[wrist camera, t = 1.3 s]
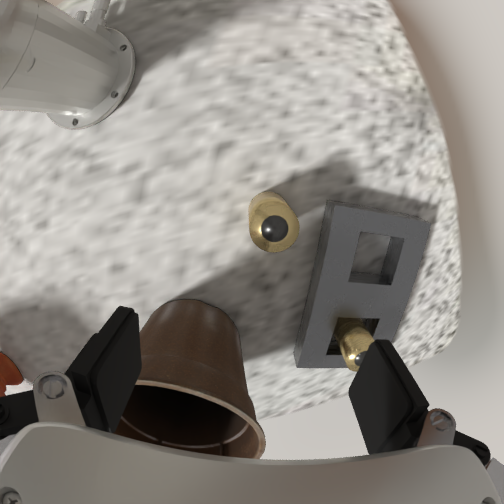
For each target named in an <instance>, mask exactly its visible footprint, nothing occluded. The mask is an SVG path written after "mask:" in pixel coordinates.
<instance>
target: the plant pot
mask: <svg viewBox="0 0 504 504" xmlns="http://www.w3.org/2000/svg"><path fill="white" fill-rule="evenodd" d="M139 335H140V348H141V360H142V369H141V373H140V375H139V377H138V379H137V382H136V384H135V386H134V389H133V391H132V393H131V395H130V398H129V400H128V402H127V405H126V407H125V409H124V412H123V414H122V416H121V419H120V421H119V424H118V426H117V428H116V431H115V432H114V433H112V434H116V435H120V436H123V437H127V438H130V439H134V440H138V441H142V442H146V443H151V444H155V445H160V446H164V447H169V448H174V449H179V450H184V451H190V452H196V453H203V454H210V455H218V456H226V457H237V458H249V459H260V457H261V456H262V454H263V453H264V450H265V445H266V441H265V435H264V432H263V430H262V428H261V426H260V425H259V423H258V422H257V420H256V415H255V410H254V406H253V403H252V400H251V399H250V397H249V395H248V390H247V384H246V379H245V372H244V366H243V359H242V352H241V344H240V337H239V334H238V331H237V328H236V326H235V325H234V323H233V322H232V320H231V319H230V318H229V317H228V316H227V314H226V313H224V312H223V311H221V310H220V309H219V308H217V307H211V306H209V305H207V304H205V303H203V302H201V301H198V300H190V299H184V300H176V301H172V302H169V303H167V304H164V305H162V306H161V307H159V308H158V309H157V310H156V311H155V312H153V314H152V315H151V316H150V318H149V320H148V321H147V322H146V324H145V325H144V327H143V328H142V330H141V331H140V333H139Z"/></svg>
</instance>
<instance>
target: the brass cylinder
mask: <svg viewBox="0 0 504 504" xmlns="http://www.w3.org/2000/svg"><path fill="white" fill-rule="evenodd" d="M249 230H250V236H251V238H252V240H253V242H254V243H255V244H256V245H257V246H258V247H259V248H260V249H262V250H264V251H267V252H280V251H283V250H286V249H287V248H289V247H290V246H291V245H292V244H293V243H294V242H295V241H296V239H297V237H298V234H299V221H298V219H297V216H296V215H295V213H294V212H293V211H292V209H291V208H290V207H289V206H288V204H287V203H286V202H285V200H284V199H283V198H282V197H281V196H280V195H278V194H276V193H274V192H262V193H260V194H258V195H256V196H255V197H254V198H253V199H252V201H251V202H250V205H249Z"/></svg>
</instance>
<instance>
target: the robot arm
mask: <svg viewBox="0 0 504 504" xmlns="http://www.w3.org/2000/svg"><path fill="white" fill-rule="evenodd" d="M110 1H111V0H95V1H94V4H93V7H92V10H91V15H90V18H89V20H87V21H86V22H85V19H86V15H87V12H86V11H78V12H77V13H76V16H75V18H73V17H72V16H70V15H68V14H67V13H65V12H64V11H62V10H60V9H59V8H57V7H55V6H54V5H52V4H50V3H48V2H47V1H45V0H0V110H6V111H27V112H41V113H47V115H48V117H49V118H50V119H51V121H52V122H54V123H55V124H56V125H58V126H60V127H63V128H66V129H83V128H87V127H90V126H92V125H95V124H97V123H99V122H100V121H102V120H103V119H104V118H106V117H107V116H108V115H109V114H110V113H111V112H113V111H114V110H115V108H116V107H117V106H118V105H119V104H120V102H121V101H122V100H123V98H124V96H125V95H126V93H127V91H128V89H129V87H130V85H131V82H132V79H133V75H134V72H135V62H136V61H135V52H134V49H133V47H132V44H131V43H130V41H129V40H128V38H127V37H125V36H124V35H123V34H122V33H121V32H119V31H117V30H116V29H112V28H109V27H105V25H106V21H105V20H104V18H105V14H106V13H107V10H108V7H109V4H110ZM84 22H85V24H83V23H84ZM125 49H126V50H125ZM117 94H118V96H117V97H116V95H117ZM141 369H142V360H141V348H140V335H139V317H138V314H137V313H135V312H134V309H132V308H128V307H123V306H119V307H118V308H117V309H116V311H115V312H114V313H113V314H112V316H111V317H110V318H109V320H108V321H107V322H106V323H105V325H104V326H103V327H102V329H101V330H100V331H99V333H95V334H94V335H93V336H92V337H91V338H90V340H89V341H88V342H87V344H86V345H85V346H84V348H83V349H82V350H81V352H80V353H79V354H78V356H77V357H76V359H75V360H74V361H73V363H72V364H71V365H70V367H69V368H68V370H67V371H66V372H65V374H63V373H61V372H56V371H51V372H46V373H43V374H41V375H40V376H38V377H37V379H36V380H35V382H34V384H33V390H30V391H26V392H21V393H16V394H12V395H7V396H2V397H0V504H504V465H502V464H501V463H500V462H498V461H497V460H496V459H495V458H492V459H491V460H490V451H489V449H488V447H487V446H486V445H485V444H484V443H482V442H480V441H478V440H476V439H474V438H471V437H469V436H467V435H465V434H463V433H460V432H458V431H456V422H455V419H454V418H453V416H452V415H451V414H450V413H449V412H447V411H445V410H443V409H437V408H435V409H432V410H430V411H428V409H427V408H428V406H429V403H428V401H427V400H426V398H425V396H424V395H423V393H422V391H421V390H420V388H419V387H418V385H417V383H416V381H415V380H414V378H413V376H412V375H411V373H410V372H409V370H408V368H407V367H406V365H405V364H404V362H403V360H402V359H401V357H400V356H399V354H398V353H397V351H396V350H395V348H394V346H393V345H392V343H391V342H390V341H389V340H387V339H376V340H375V341H374V342H372V343H371V344H370V345H369V347H368V350H367V352H366V354H365V356H364V359H363V361H362V363H361V365H360V367H359V369H358V371H357V373H356V376H355V378H354V380H353V382H352V384H351V386H350V388H349V397H350V400H351V403H352V406H353V409H354V411H355V415H356V417H357V420H358V423H359V426H360V429H361V432H362V435H363V438H364V441H365V444H366V447H367V450H368V453H369V454H370V455H364V456H355V457H345V458H333V459H314V460H267V459H249V458H237V457H226V456H218V455H210V454H203V453H196V452H190V451H184V450H179V449H174V448H169V447H164V446H160V445H155V444H151V443H146V442H142V441H138V440H134V439H130V438H127V437H123V436H120V435H116V434H112V433H114V432H115V431H116V428H117V426H118V424H119V421H120V419H121V416H122V414H123V412H124V409H125V407H126V405H127V402H128V400H129V398H130V395H131V393H132V391H133V389H134V386H135V384H136V382H137V379H138V377H139V375H140V373H141Z"/></svg>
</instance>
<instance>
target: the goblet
mask: <svg viewBox="0 0 504 504" xmlns="http://www.w3.org/2000/svg"><path fill="white" fill-rule="evenodd" d="M22 381H23V379H22V375H21V374H20V372H19V370H18V368H17V367H16V366H15V364H14V363H13V362H12V361H11V360H10V359H9V358H8V357H7V356H6V355H4V354H2V353H1V352H0V397H2V396H6V395H5V393H4V392H5V391H6V385H19V384H21V383H22Z"/></svg>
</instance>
